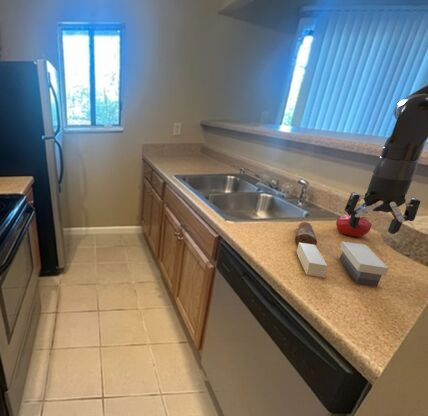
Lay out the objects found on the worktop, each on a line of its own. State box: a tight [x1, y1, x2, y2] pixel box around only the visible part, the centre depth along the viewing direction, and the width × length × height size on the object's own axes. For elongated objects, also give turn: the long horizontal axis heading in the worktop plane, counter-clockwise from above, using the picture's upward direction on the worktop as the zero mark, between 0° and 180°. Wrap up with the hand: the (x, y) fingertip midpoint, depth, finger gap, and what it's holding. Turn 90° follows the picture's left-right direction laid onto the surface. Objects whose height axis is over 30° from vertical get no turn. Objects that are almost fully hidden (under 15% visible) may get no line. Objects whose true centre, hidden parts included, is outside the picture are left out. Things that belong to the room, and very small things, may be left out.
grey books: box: [339, 251, 383, 288], centre depth 83 cm, size 4×14×4 cm, turn 157°
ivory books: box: [296, 243, 328, 279], centre depth 87 cm, size 4×14×4 cm, turn 157°
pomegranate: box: [335, 212, 372, 238], centre depth 105 cm, size 10×10×9 cm
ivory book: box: [339, 241, 389, 276], centre depth 81 cm, size 6×14×2 cm, turn 157°
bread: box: [294, 221, 318, 246], centre depth 103 cm, size 6×19×6 cm, turn 143°
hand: (371, 230), depth 78 cm, fingers open, 8 cm apart
